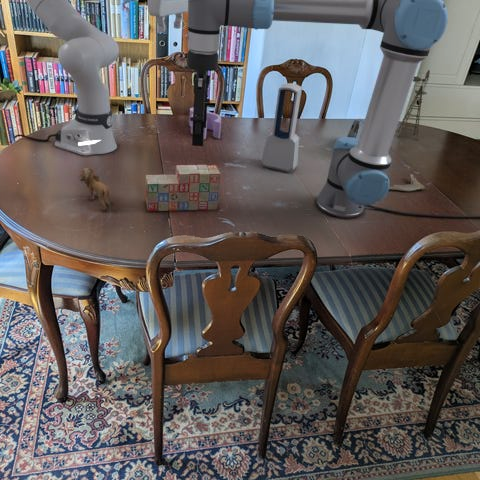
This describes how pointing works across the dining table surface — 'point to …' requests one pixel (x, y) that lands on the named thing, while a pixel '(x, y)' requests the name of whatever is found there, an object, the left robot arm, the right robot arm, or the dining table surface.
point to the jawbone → (414, 185)
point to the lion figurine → (95, 186)
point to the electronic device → (283, 134)
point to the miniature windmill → (419, 92)
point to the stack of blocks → (184, 189)
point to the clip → (209, 123)
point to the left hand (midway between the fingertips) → (169, 30)
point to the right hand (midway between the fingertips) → (199, 136)
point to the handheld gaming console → (354, 129)
